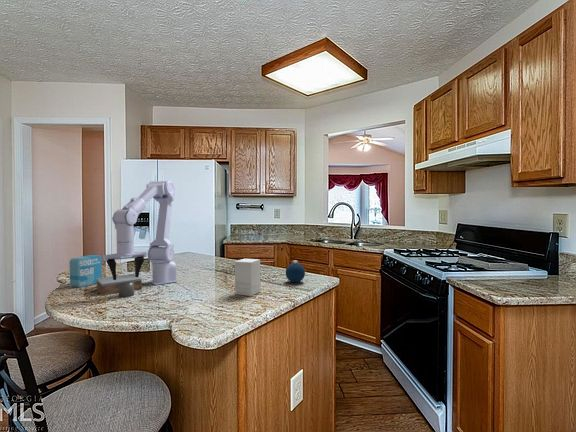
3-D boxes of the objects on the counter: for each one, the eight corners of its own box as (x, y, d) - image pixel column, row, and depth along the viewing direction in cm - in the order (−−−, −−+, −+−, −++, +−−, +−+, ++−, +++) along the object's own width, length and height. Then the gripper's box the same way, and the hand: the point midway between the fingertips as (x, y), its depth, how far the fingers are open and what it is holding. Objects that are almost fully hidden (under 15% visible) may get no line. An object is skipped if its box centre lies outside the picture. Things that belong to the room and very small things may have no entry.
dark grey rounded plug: (132, 293, 130) (131, 280, 130) (135, 295, 126) (135, 282, 125) (117, 295, 126) (117, 282, 126) (120, 298, 122) (120, 284, 122)
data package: (78, 288, 138) (77, 259, 137) (69, 287, 139) (68, 258, 139) (102, 281, 149) (101, 254, 149) (94, 281, 150) (93, 254, 150)
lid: (133, 275, 144) (133, 273, 144) (141, 280, 135) (141, 278, 135) (96, 280, 136) (96, 278, 136) (102, 286, 126) (102, 284, 126)
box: (133, 283, 144) (133, 276, 144) (141, 289, 135) (141, 280, 135) (96, 289, 136) (96, 280, 136) (102, 295, 126) (102, 286, 126)
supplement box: (261, 291, 130) (261, 259, 130) (251, 296, 124) (251, 262, 123) (245, 289, 133) (244, 258, 133) (234, 294, 127) (234, 260, 126)
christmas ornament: (294, 279, 151) (294, 257, 151) (309, 282, 146) (309, 259, 145) (281, 282, 145) (281, 259, 145) (295, 285, 140) (295, 261, 139)
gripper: (105, 244, 118) (106, 282, 118) (148, 241, 127) (149, 277, 127) (101, 242, 123) (102, 279, 124) (143, 239, 132) (144, 274, 133)
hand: (125, 278), depth 126 cm, fingers open, 7 cm apart
